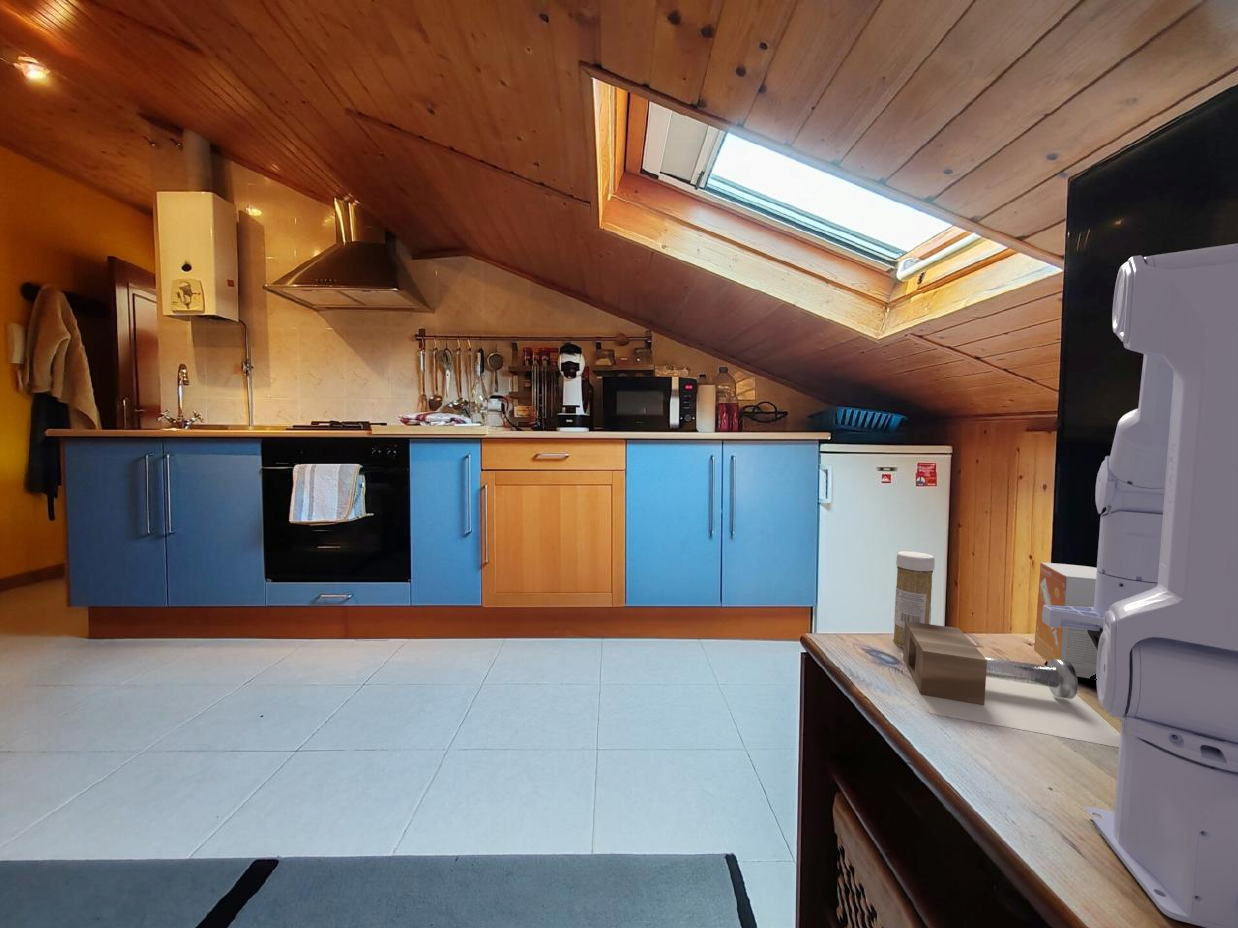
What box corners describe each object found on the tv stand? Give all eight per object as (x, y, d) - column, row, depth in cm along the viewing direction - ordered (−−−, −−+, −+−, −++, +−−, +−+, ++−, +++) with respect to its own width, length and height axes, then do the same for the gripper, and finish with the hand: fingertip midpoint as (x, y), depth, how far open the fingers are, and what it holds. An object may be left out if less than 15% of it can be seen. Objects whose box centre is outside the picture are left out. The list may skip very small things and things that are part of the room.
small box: (1032, 653, 70) (1039, 561, 69) (1090, 662, 68) (1097, 566, 67) (1058, 678, 62) (1065, 575, 62) (1124, 689, 60) (1133, 582, 59)
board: (1138, 757, 47) (1139, 750, 47) (929, 718, 52) (929, 712, 52) (1055, 680, 62) (1055, 675, 62) (899, 657, 67) (899, 652, 67)
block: (984, 705, 54) (987, 660, 54) (920, 694, 56) (923, 650, 56) (956, 666, 63) (958, 628, 63) (902, 658, 65) (904, 621, 65)
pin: (1076, 705, 54) (1078, 669, 54) (944, 684, 58) (946, 650, 58) (1057, 688, 58) (1060, 654, 57) (935, 669, 62) (937, 637, 61)
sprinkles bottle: (935, 650, 70) (941, 555, 69) (919, 657, 67) (924, 558, 67) (902, 639, 74) (907, 548, 73) (885, 645, 71) (890, 551, 70)
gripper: (1195, 574, 55) (1185, 696, 55) (1033, 560, 59) (1025, 672, 60) (1250, 592, 48) (1238, 730, 49) (1063, 574, 53) (1054, 700, 54)
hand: (1123, 700), depth 54 cm, fingers closed
